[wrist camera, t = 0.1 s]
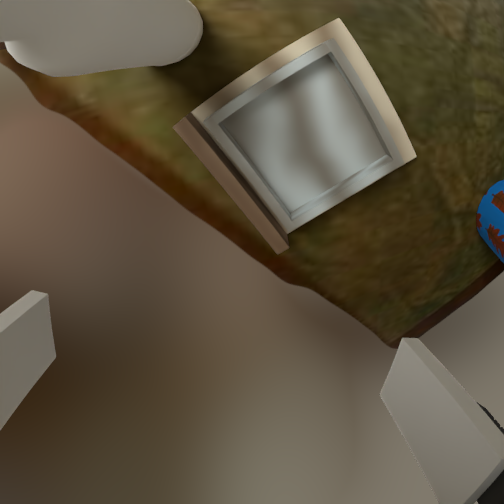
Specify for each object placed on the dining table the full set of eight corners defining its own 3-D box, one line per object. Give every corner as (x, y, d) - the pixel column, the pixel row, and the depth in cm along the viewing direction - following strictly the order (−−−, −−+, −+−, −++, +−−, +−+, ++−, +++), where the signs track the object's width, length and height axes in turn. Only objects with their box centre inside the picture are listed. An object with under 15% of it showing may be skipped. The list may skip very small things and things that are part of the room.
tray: (336, 18, 26) (347, 14, 22) (413, 154, 34) (428, 165, 30) (180, 119, 32) (172, 127, 29) (275, 236, 40) (277, 254, 37)
